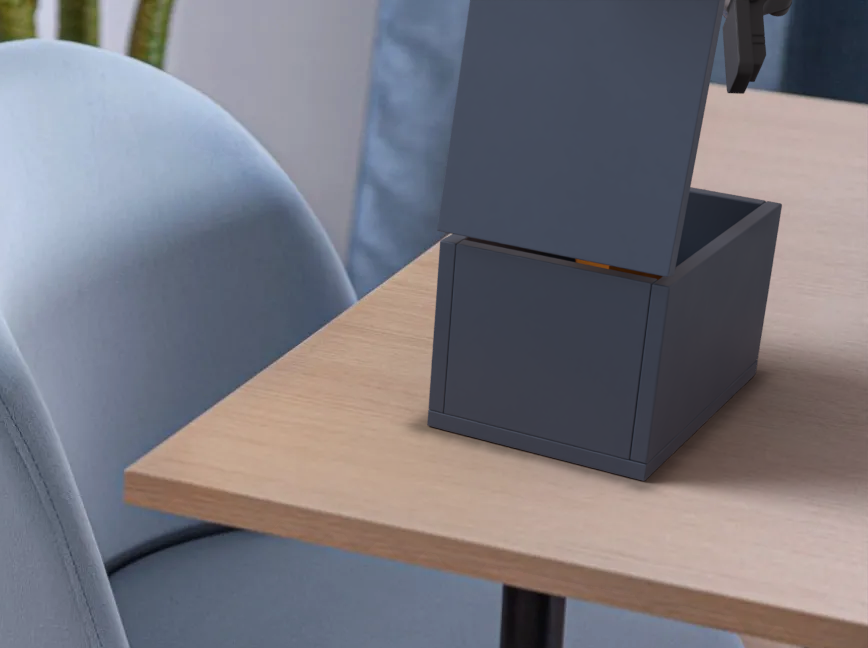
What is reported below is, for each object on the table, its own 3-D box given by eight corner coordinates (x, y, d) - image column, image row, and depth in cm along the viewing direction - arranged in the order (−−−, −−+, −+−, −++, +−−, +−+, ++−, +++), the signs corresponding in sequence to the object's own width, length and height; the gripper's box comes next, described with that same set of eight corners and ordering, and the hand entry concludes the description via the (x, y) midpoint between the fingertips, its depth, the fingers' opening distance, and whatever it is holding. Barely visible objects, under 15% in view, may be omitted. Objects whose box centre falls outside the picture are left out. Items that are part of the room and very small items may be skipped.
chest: (561, 331, 93) (578, 166, 89) (756, 374, 89) (782, 203, 85) (426, 425, 81) (439, 240, 77) (644, 481, 76) (669, 287, 72)
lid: (502, -173, 72) (445, -192, 67) (753, -150, 68) (711, -169, 63) (444, 229, 77) (387, 237, 72) (674, 275, 72) (629, 287, 68)
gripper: (491, -278, 80) (497, 27, 75) (802, -268, 81) (829, 37, 75) (474, -165, 87) (478, 122, 82) (759, -156, 88) (781, 130, 83)
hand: (646, 81), depth 79 cm, fingers open, 8 cm apart
